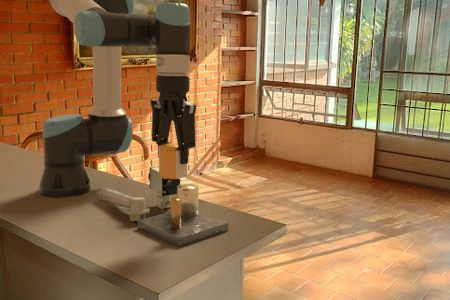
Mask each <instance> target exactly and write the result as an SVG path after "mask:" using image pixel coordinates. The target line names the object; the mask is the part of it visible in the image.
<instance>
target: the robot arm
mask: <svg viewBox="0 0 450 300" xmlns="http://www.w3.org/2000/svg"><path fill="white" fill-rule="evenodd" d="M48 2H49V5H50V6H51V8H52V9H53V10H54V12H56V14H59V15H60V16H62V17H66V18H67V19H68V20H69V21H70V22H71V23H73V28H74V30H73V33H74V37H75V41H77V44H79V45H81V46H88V47H92V93H93V94H92V98H93V100H92V101H93V103H92V104H93V105H92V106H93V107H92V108H91V109H90V110H89V111H88V118H84V117H83V116H82V114H78V113H74V114H63V115H62V114H61V115H57V116H52V117H50V118H49V117H48V118H47V119H46V120H44V122H43V124H42V135H41V136H42V140H43V141H42V144H43V146H42V147H43V162H44V165H43V167H44V168H43V172H42V174H41V178H40V182H39V188H38V189H39V194H40V195H42V196H45V197H51V198H67V197H76V196H77V197H78V196H81V195H84V194H87V193H89V192H90V191H91V181H90V178H89V175H88V173H87V170H86V167H85V159H84V158H85V157H90V156H91V157H92V156H102V155H115V154H120V153H121V154H122V153H125V152H127V151H128V149H129V148H130V146H131V144H132V142H133V141H132V140H133V133H134V127H133V122H132V119H131V118H130V117H129V116H127V112H126V111H125V110H124V109H123V107H122V48H145V49H155V55H156V58H155V59H156V60H155V63H156V65H155V66H156V67H155V68H156V69H155V71H156V73H157V74H158V75H156V76H155V90H156V92H158V93H159V96H158V99H151V101H150V105H151V110H152V111H151V112H152V113H151V115H152V116H151V141H152V142H155V144H156V145H157V157H158V166H159V173H160V145H162V144H170V143H171V142H170V141H169V137H170V132H171V126H172V121H173V125H174V131H175V136H176V142H177V143H176V144H178V148H177V149H176V178H177V179H182V178H187V177H188V163H189V150H190V149H193V148H195V147H196V121H195V120H196V115H195V114H196V110H197V105H196V103H190V102H189V101H188V98H187V93H189V92H190V83H191V82H190V76H189V75H188V74H189V73H191V69H190V68H191V64H190V63H191V61H190V60H191V59H190V58H191V57H190V46H191V45H190V44H191V42H190V41H191V23H192V22H191V17H190V14H191V13H190V11H191V10H190V7H189V6H188V5H187V4H186V3H181V2H180V3H179V2H160V3H158V4H156V6H155V13H154V14H153V15H152V14H140V13H138V14H136V13H134V12H133V11H134V10H135V9H134V4H135V2H134V0H48Z"/></svg>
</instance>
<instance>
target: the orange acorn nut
mask: <svg viewBox="0 0 450 300" xmlns="http://www.w3.org/2000/svg"><path fill="white" fill-rule="evenodd" d="M177 148H178V143H171V142H170V143H169V144H162V145H160V177H162V178H166V179H177V178H176V149H177Z"/></svg>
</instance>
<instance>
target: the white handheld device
mask: <svg viewBox="0 0 450 300" xmlns="http://www.w3.org/2000/svg"><path fill="white" fill-rule="evenodd" d="M96 198H97V199H98V200H99V201H101V202H103V203H104V204H107V203H108V204H112V205H116V206H120V207H124V208H127V213H128V215H129V221H130V222H137V221H138V220H141V219H145V218H149V217H150V216H149V215H150V214H149V213H150V212H151V211H150V208H149V207H147V203H146V199H145V197H134V196H131V195H128V194H125V193H122V192H120V191H117V190H115V189H113V188H112V187H102V188H101V187H99V189H98V191H97V192H96Z"/></svg>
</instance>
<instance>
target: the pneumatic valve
mask: <svg viewBox="0 0 450 300" xmlns="http://www.w3.org/2000/svg"><path fill="white" fill-rule="evenodd" d="M147 178H148V181H149V189H150V190H152V191H154V192H156V193H157V194H156V195H155V198H156V199H155V200H156V201H155V202H156V203H155V206H156V207H158V209H161V210H163V209H167V208H169V209H171V199H172V198H173V197H172V196H173V195H177V186H178V185H181V178H179V179H166V178H162V177H160V173H159V165H158V166H152V167H149V172H148V175H147Z"/></svg>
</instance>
